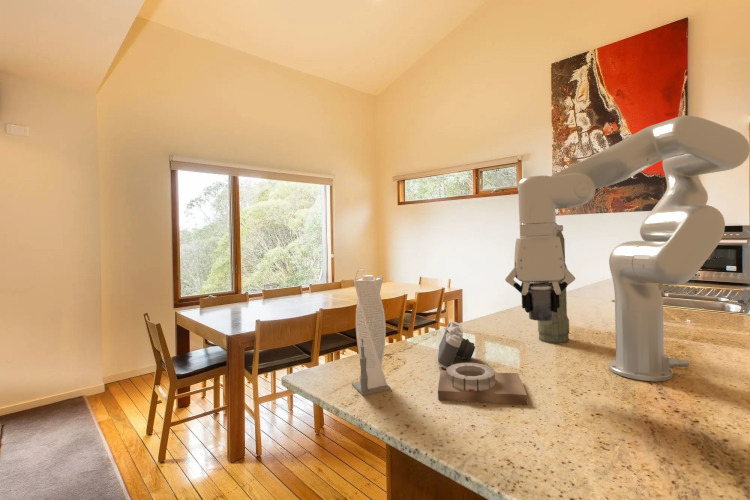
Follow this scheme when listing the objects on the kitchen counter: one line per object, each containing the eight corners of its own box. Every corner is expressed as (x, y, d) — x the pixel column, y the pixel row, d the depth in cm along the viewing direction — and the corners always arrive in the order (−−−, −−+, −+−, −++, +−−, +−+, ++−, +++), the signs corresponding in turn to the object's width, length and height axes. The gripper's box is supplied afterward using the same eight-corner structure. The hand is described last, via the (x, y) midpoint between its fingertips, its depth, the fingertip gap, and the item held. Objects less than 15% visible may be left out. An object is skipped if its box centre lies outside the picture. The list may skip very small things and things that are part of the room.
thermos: (576, 338, 120) (573, 229, 119) (558, 346, 113) (555, 230, 111) (549, 333, 127) (546, 230, 126) (530, 341, 120) (527, 231, 118)
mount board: (518, 381, 88) (517, 363, 88) (527, 404, 77) (526, 383, 76) (440, 378, 92) (440, 360, 92) (438, 399, 81) (437, 379, 80)
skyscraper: (350, 382, 92) (344, 269, 91) (380, 376, 95) (375, 266, 94) (362, 395, 84) (356, 271, 83) (394, 388, 88) (389, 268, 87)
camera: (433, 365, 98) (448, 330, 97) (436, 344, 114) (449, 314, 112) (467, 380, 97) (483, 344, 95) (465, 357, 113) (479, 326, 111)
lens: (550, 315, 88) (549, 281, 87) (556, 320, 83) (554, 284, 82) (526, 315, 89) (525, 282, 88) (530, 321, 84) (529, 285, 83)
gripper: (573, 229, 87) (576, 307, 87) (496, 233, 90) (499, 308, 91) (584, 229, 79) (587, 314, 80) (500, 233, 83) (503, 315, 84)
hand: (540, 310), depth 86 cm, fingers closed on lens, 5 cm apart
